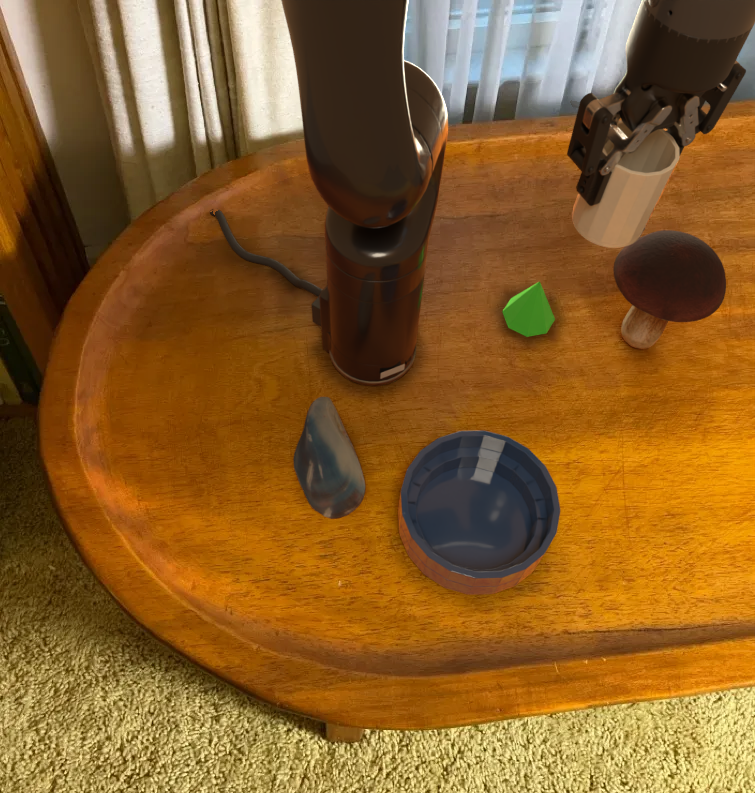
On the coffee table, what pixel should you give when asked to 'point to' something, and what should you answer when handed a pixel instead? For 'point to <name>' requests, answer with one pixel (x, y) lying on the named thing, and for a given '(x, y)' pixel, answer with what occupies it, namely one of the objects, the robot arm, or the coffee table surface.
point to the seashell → (328, 463)
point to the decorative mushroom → (667, 283)
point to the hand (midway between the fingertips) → (622, 185)
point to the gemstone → (529, 312)
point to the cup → (628, 192)
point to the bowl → (477, 511)
